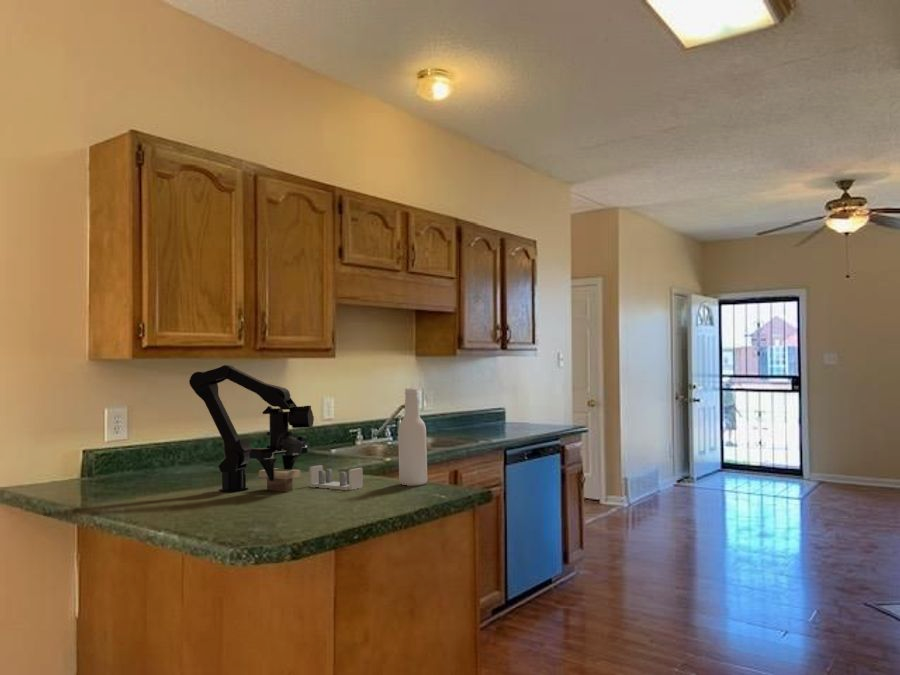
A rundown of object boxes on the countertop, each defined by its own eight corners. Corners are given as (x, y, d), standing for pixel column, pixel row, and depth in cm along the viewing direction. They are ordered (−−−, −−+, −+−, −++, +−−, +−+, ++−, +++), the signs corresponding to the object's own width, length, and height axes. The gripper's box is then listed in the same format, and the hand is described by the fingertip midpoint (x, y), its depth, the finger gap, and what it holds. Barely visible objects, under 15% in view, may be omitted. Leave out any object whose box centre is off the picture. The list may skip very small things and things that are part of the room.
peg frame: (349, 490, 207) (349, 470, 208) (307, 486, 217) (306, 467, 218) (365, 487, 213) (364, 467, 214) (322, 483, 223) (322, 464, 224)
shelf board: (285, 479, 207) (285, 472, 207) (258, 477, 213) (258, 470, 213) (300, 476, 212) (300, 470, 212) (273, 474, 218) (273, 468, 218)
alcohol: (395, 483, 219) (393, 388, 221) (420, 481, 223) (418, 388, 225) (406, 487, 211) (403, 388, 213) (432, 484, 215) (429, 388, 217)
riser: (285, 491, 209) (284, 478, 209) (267, 489, 213) (267, 476, 213) (292, 490, 211) (292, 476, 211) (274, 488, 216) (274, 475, 216)
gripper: (273, 431, 201) (274, 485, 200) (319, 426, 217) (320, 477, 216) (248, 430, 207) (248, 483, 206) (294, 426, 223) (295, 475, 222)
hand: (279, 479), depth 212 cm, fingers closed on shelf board, 6 cm apart
